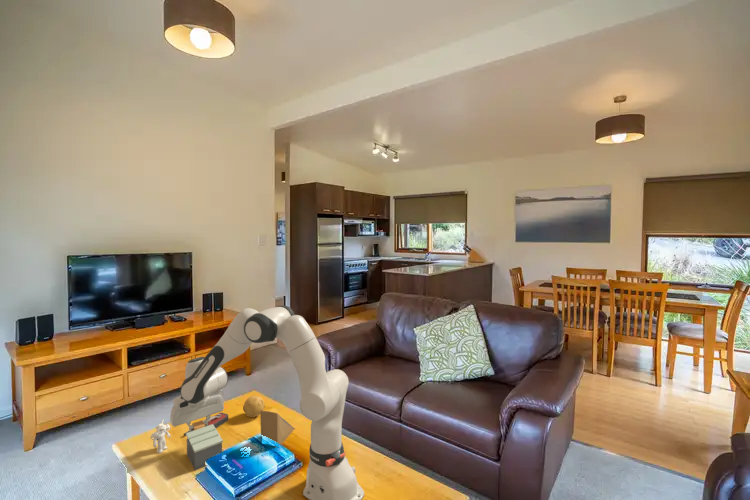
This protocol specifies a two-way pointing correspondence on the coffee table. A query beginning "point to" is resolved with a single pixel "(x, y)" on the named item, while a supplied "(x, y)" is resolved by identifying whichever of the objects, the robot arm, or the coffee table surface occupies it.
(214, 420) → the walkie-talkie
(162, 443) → the flower shoulder figurine
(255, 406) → the stress ball
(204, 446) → the lid
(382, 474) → the coffee table surface
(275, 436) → the sandwich container
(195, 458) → the parts tub
